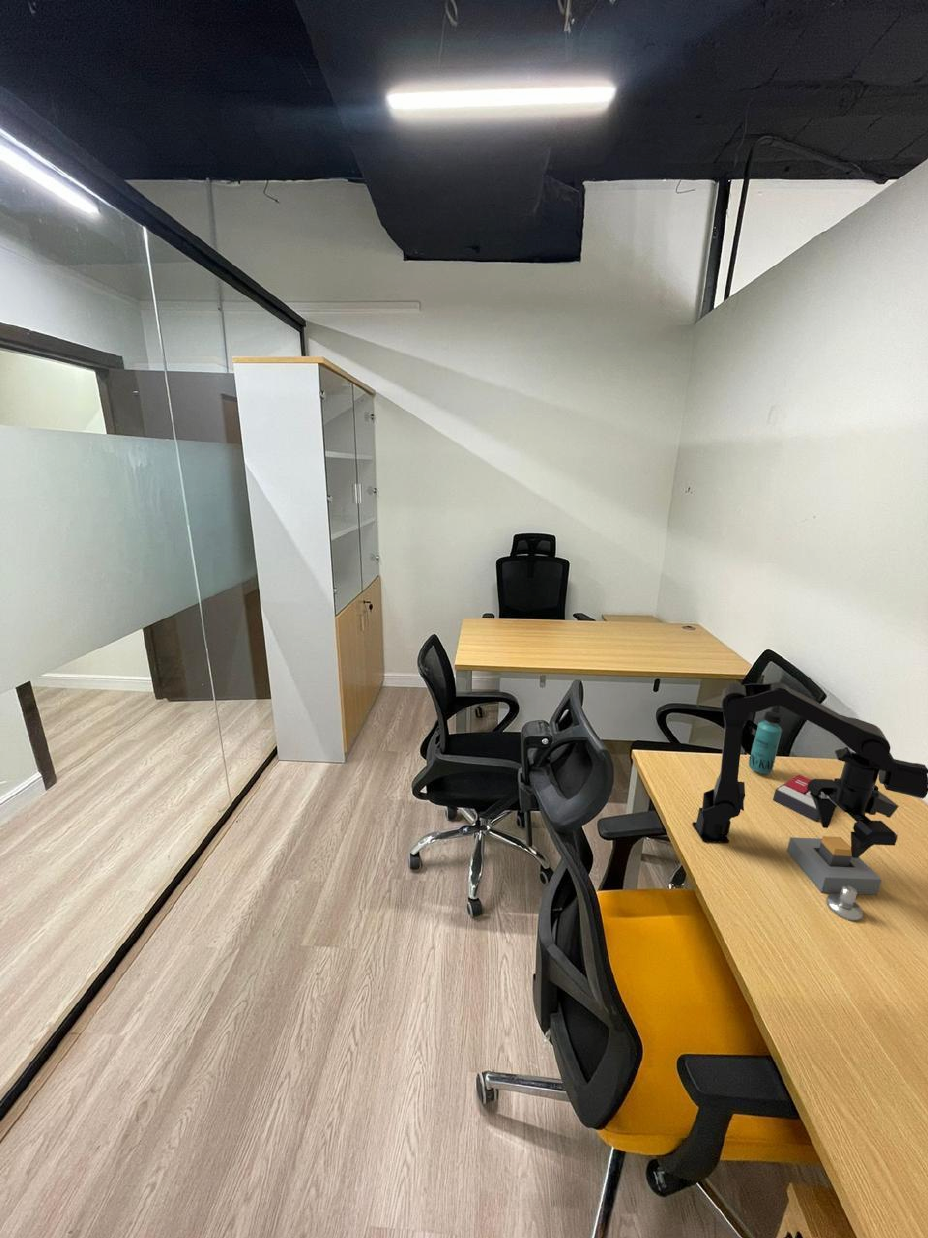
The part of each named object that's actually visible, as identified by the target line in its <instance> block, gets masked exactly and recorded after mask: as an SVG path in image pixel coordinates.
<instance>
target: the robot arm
mask: <svg viewBox="0 0 928 1238" xmlns="http://www.w3.org/2000/svg"><path fill="white" fill-rule="evenodd" d="M721 698H722V700H721V702H722V703H721V707H722V713H723V714H722V716H723V721H724V730H723V731H724V734H723V742H722V743H723V744H722V752H721V753H722V754H721V755H722V757H721V766H720V772H719V775H718V777H717V779H716V782H715V785H714V788H712V789H709V790H707V791H705V792H703V796H702V807H698V811H697V816H696V821H694V822H692V825H691V826H692V827H693V828H694V830H695V831H696V833H697V835H698V837H699V838H700V840H701V841H702V842H703V843H721V844H728V843H730V839H729V838H728V836H729V831H730V828H731V827H730V826H731V823H732V822H731V820H732V819H734V818H737V817H739V816H740V814H741V811H742V812H743V811H745V803H744V801H745V797H746V785H745V781H739V773H740V772H739V771H740V770H739V769H740V762H741V761H740V760H741V752H742V740H743V731H744V728H745V726H746V723H747V722H748V719H749V717H750V713H756V712H761V711H764V710H767V709H769V708H773V707H778V706H781V707H782V708H784V709H785V710H787V711H790V712H792V713H794V714H795V715H797V716H799V717H801V718H802V719H804V720H807V721H808V722H810V723H811V724H814V725H815V726H818V727H819V728H821V729H823V730H825V731H827V732H828V733H830V734H832V735H833V736H834V737H836V738H837V739H839V740H840V741H841V743H843V744H844V745H845V747H844V748H840V749H836V750H835V751H834V753H835V755H836V758H837V761H841V762H844V764H843V767H842V771H841V774H840V777H839V778H837V777H835V778H834V780H833V779H831V778H830V779H828V778H827V779H825V778H812V779H810V780H811V781H809V783H808V787H807V789H808V790H809V791H810V792H811V793H810V795H811V796H812V798H813V801H814V803H815V806H816V809H817V812H818V815H819V818H820V821H819V822H820V824H821V827H822V828H823V829H827V828H829V826H830V824H831V823H832V820H833V817H834V813H835V810H836V808H837V807H838V808H839V809H840V810H841V811H842V812H843V813H846V814H847V815H848V816H849V817H851V818H852V819H853V820H854V821H855V823H853V826H852V829H853V831H850V847H851V854H852V857H853V858H858V857H859V858H860V856H862V855H863V854H864V853H865V852H867V850H869V849H870V848H871V847H873V846H896V843H897V840H898V837H899V836H898V834H897V833H896V832H895V831H894V830H893V829H892V828H890V827H889V825H887V824H886V823H885V822H884V821H882V820H871V819H870V818H869V817H868V816H866V814H868V815H870V816H875V815H876V814H880V815H882V816H885V817H887V818H889V819H890V818H891V817H892V816H893V815H894V813H895V812H896V811H897V809H898V808H899V807H900V806H899V805H898V804H897V803H896V802H894V800H892V799H890V798H889V797H888V796H887V795H886V794H883V793H882V792H881V791H879V787H878V786H877V785H876V783H877V780H878V782H879V784H882V785H883V786H884V789H885V790H886V791H891V792H894V793H897V794H898V793H899V794H903V795H906V796H910V797H914V798H919V799H925V798H926V797H927V795H928V767H927V765H925V764H922V763H918V762H917V763H916V762H909V761H905V760H900V759H896V758H894V757H893V755H892V753H891V748H892V747H891V744H890V742H889V741H888V739H887V737H886V735H885V734H884V732H883V731H882V730H881V728H880V727H878V726H877V725H876V724H873V723H871V722H867V721H865V720H862V719H859V718H856V717H849V716H846V715H843V714H841V713H838V712H837V711H836V710H833V709H831V708H829V707H826V706H825V705H823V704H821V703H819V702H817V701H816V700H814V699H812V698H810V697H808V696H806V695H804V694H802V693H800V692H798V691H797V690H794V689H792V688H790V687H789V686H787V684H785V683H784V682H780V681H779V682H771V683H770V682H769V683H757V682H756V683H747V684H745V683H744V684H741V683H729V684H728V685H726V686H725V687H723V690H722V697H721Z"/></svg>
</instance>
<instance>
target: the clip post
mask: <svg viewBox="0 0 928 1238" xmlns="http://www.w3.org/2000/svg"><path fill="white" fill-rule="evenodd" d="M857 895H858V894H857V891H856V889H855V888H853V887H851V886H849V885H843V887H842V890H841V893H828V895H827V896H826V900H825V902H826V903H825V904H826V905H827V907H828V909H830V911H832V912H833V913H834V914H835V915H837V916H838V917H840V918H843V919H845V920H847V921H850V922H860V921H861V920H862V919H863V915H864V912H863V909H862V908H861V907H860V906H859V904H858V903H857V902H856V897H857Z"/></svg>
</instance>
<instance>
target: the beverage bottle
mask: <svg viewBox="0 0 928 1238" xmlns="http://www.w3.org/2000/svg"><path fill="white" fill-rule="evenodd" d="M781 718H782V716H781V714H780V713H778V712H775V711H771V710H770V711H768V710H767V711H765V714H764V716H763V719H764V720H763V721H760V722H758V723H757V728H756V732H755V736H754V738H753V739H754V740H753V743H752V747H751V750H750V755H749V759H748V766H749V768H750V769H751V770H753V771H755V772H757V773H759V774H766V775H767V774H771V773H772V772H773V770H774V767H775V764H776V758H777V755H778V750H779V745H780V740H781V737H782V733H783V729H782V727H781V726H780V725H779V724H780V723H781Z"/></svg>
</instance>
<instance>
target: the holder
mask: <svg viewBox="0 0 928 1238" xmlns="http://www.w3.org/2000/svg"><path fill="white" fill-rule="evenodd" d="M821 841H822V838H820V837H819V838H818V837H817V838H814V837H793V836H792V837H791V836H790V837H789V841H788V845H787V849H786V853H788V855H789V856H790V857H791V859H793V861H794V862H795V863H796V864H797V866H798V867H799V868H800V869H801V870H802V871H803V873H804V874H805V875H806V876H807V877H808V879H809V880H810V881H811V883H812V884H813V885H814V886H815V887H816V888H817V890H818V891H819V892H820V893H826V894H827V893H828V894H840V893H841V890H842V887H843V885H849V886H851V887H853V888H855V889H856V891H857V895H878V893H879V890H880V887H881V884H882V881H883V879H882V878H881V877H880V876H879V875H877V873H876V872H875V871H874V870H873V869H872V868H871V867H870V866H869V865H868V864H867V863H865V862H864V860H863V859H862V858H860V857H858V858H853V857H851V860H850V863H849V866H848V867H830V866H829V865H828V864H827V863H826V862H825V861H824V859H823V858H822V857H821V856H820V855H819V854H818V851H819V847H820V844H821Z"/></svg>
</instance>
